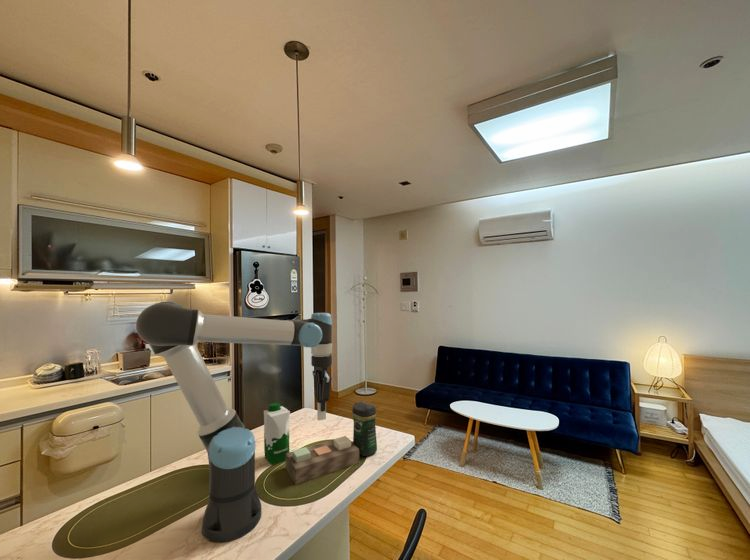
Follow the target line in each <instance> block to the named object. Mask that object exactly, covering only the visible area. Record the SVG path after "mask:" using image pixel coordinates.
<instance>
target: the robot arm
mask: <svg viewBox="0 0 750 560" xmlns="http://www.w3.org/2000/svg"><path fill="white" fill-rule="evenodd" d="M135 329H136V332H137V333H136V334H137V335H138V337H139V338H140V339H141V340H142V341H143V342H145V343H146V344H148V345H149V346H150V348H151V349H152V352H153V354H154V355H155V356H158V357H161V358H163V359H164V361H165V363H166V365H167V367H168V368H169V369H170V371H171V372H170V373H171V374H172V376H173V378H174V379H175V381H176V383H177V385H178V386H179V389H180V390H181V393H182V394H183V396H184V397H185V400H186V401H187V404H188V406H189V408H190V409H191V411H192V413H193V415H194V417H195V419H196V421H197V422H198V424H199V427H198V429H197V435H198V437H199V439H200V441H201V442H202V445H203V446H204V448H205V450H206V452H207V460H208V468H209V469H208V470H209V473H208V475H209V478H208V480H209V481H208V483H209V486H208V487H209V489H208V490H209V491H208V492H209V495H208V496H209V497H208V502H207V505H206V508H205V511H204V514H203V516H202V520H201V534H202V536H203V537H204V539H206V540H208V541H210V542H214V543H224V542H229V541H233V540H236V539H238V538H239V539H240V538H241V537H242V536H245V535H246V534H247V533H249V532H251V531H252V530H253V529H254V528H255V527H256V526H257V525H258V524H259V522H260V520H261V518H262V511H263V510H262V503H261V500H260V497H259V494H258V491H257V489H256V452H255V451H256V441H255V435H254V432H252V430H250V429H249V428H246V426H245V425H244V423H243V422H242V421H241V419H240V417H239V414H238V413H237V411H236V410H235V409H234V408H229V407H228V405H227V404H226V401H225V400H224V398H223V396H222V394H221V392H220V389H219V388H218V386H217V384H216V382H215V380H214V378H213V376H212V374H211V372H210V370H209V369H208V366H207V365H206V363H205V360H204V358H203V357H202V354H201V353H200V351H199V349H198V347H197V344H198V343H222V344H223V343H224V344H246V345H247V344H254V345H256V344H257V345H277V346H278V345H280V346H281V345H282V346H302V347H304V348H311V349H310V353H311V356H310V357H311V358H310V359H311V361H310V362H311V366H312V367H314V368H315V369H314V370H312V376H313V388H314V389H313V390H314V397H315V398H316V402H317V421H323V420H326V419H327V403H328V402H329V399H330V390H331V383H332V379H333V378H332V376H330V375H329V373H330V372H329V368H328V367H330V366H332V364H333V355H332V353H333V351H332V349H333V344H332V340H333V337H332V336H333V335H332V333H333V331H332V330H333V319H332V315H331V314H330V313H329V312H314V313H311V317H310V318H306V319H302V318H300V319H286V320H284V319H281V320H280V319H272V318H271V319H269V318H259V317H258V318H257V317H246V316H245V317H244V316H233V315H232V316H230V315H220V314H207V313H206V314H205V313H202V311H201V310H200V309H193V308H192V309H191V308H185V307H183V306H181V305H180V304H178V303H176V302H173V301H161V302H160V301H159V302H156V303H154V304H151V305H149V306H147V307H146V308H145V309H143V310H142V311H141V313H140V314H139V315H138V316H137V319H136V323H135Z"/></svg>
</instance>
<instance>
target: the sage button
mask: <svg viewBox="0 0 750 560" xmlns="http://www.w3.org/2000/svg"><path fill="white" fill-rule="evenodd" d="M291 452H292V458H293V460H294V461H295V462H296V463H299V462H303V461H306V460H309V459H311V453H310V451H309V450H308V449H307V446H304V447H301V448H298V449H297V448H296V449H294V450H292V451H291Z"/></svg>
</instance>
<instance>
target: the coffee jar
mask: <svg viewBox="0 0 750 560" xmlns="http://www.w3.org/2000/svg"><path fill="white" fill-rule="evenodd" d="M351 411H352V413H351V414H352V421H353V433H352V434H353V437H352V443H353V444H354V445H355V446H356V447H357V448H359V456H360V455H361V456H363V457H367V456H373V455H374V454H375V453H377V451H378V442H377V441H378V440H377V432H376V431H377V430H376V429H377V428H376V418H377V407H376V406H375V405H373V404H370V403H367V402H363V401H359V402H358V401H357V402H355V403H354V404H353V405H352V410H351Z"/></svg>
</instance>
